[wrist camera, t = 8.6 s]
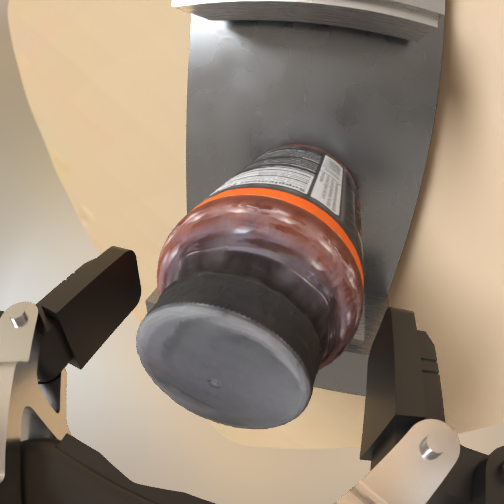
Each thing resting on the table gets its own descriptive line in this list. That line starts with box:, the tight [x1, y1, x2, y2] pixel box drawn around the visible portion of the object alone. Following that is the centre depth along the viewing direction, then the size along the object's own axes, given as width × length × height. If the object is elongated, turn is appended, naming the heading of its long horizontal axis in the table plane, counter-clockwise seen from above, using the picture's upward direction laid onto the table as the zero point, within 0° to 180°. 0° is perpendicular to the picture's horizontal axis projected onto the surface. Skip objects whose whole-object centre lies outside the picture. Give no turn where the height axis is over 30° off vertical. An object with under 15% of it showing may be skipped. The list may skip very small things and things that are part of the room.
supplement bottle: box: [136, 144, 364, 429], centre depth 11 cm, size 6×6×11 cm
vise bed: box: [146, 14, 444, 396], centre depth 12 cm, size 24×12×6 cm, turn 176°
